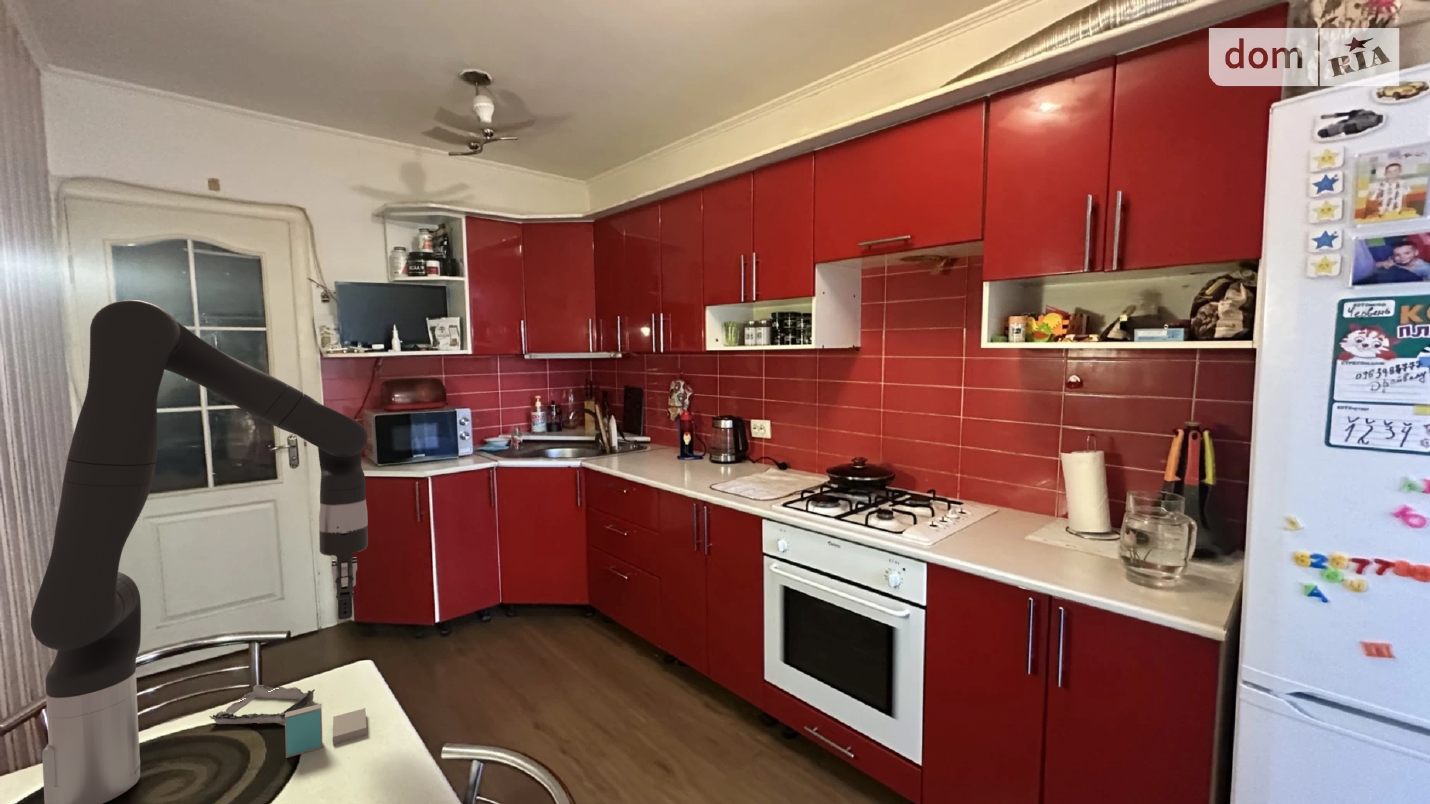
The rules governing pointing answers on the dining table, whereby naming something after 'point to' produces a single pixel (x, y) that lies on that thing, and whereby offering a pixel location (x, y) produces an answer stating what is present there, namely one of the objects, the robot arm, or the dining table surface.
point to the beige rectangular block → (349, 726)
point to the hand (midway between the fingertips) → (345, 617)
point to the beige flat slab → (303, 730)
